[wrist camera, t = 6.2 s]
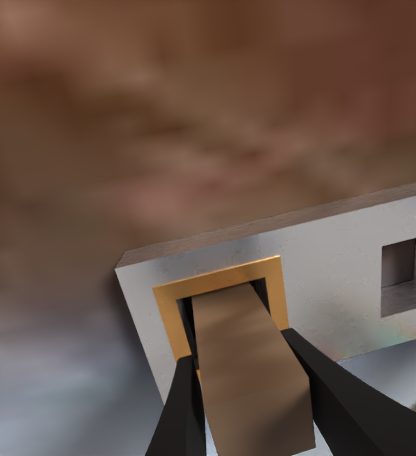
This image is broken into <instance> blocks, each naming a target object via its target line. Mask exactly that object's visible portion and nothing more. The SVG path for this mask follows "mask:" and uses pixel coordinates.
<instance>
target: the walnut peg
mask: <svg viewBox="0 0 416 456" xmlns="http://www.w3.org/2000/svg"><path fill="white" fill-rule="evenodd" d="M192 305H193V315H194V324H195V333H196V342H197V351H198V360H199V369H200V378H201V387H202V396H203V405H204V411H205V414H206V417H207V421H208V424H209V427H210V430H211V434H212V437H213V440H214V444H215V447H216V450H217V454H218V456H291V455H295V454H298V453H301V452H304V451H307V450H310V449H313V448H316V444H315V434H314V425H313V415H312V406H311V396H310V386H309V377H308V376H307V374H306V372H305V371H304V369H303V368H302V366H301V364H300V363H299V361H298V360H297V358H296V356H295V355H294V353H293V352H292V350H291V348H290V347H289V345H288V343H287V342H286V340H285V339H284V337H283V335H282V334H281V332H280V331H279V329H278V327H277V326H276V324H275V322H274V321H273V319H272V318H271V316H270V314H269V313H268V311H267V310H266V308H265V306H264V305H263V303H262V302H261V300H260V298H259V297H258V295H257V293H256V292H255V290H254V289H253V287H252V285H251V284H250V282H249V281H248V282H244V283H240V284H236V285H232V286H228V287H224V288H220V289H216V290H212V291H208V292H204V293H201V294H197V295H193V296H192Z"/></svg>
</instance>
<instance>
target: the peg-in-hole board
mask: <svg viewBox="0 0 416 456" xmlns="http://www.w3.org/2000/svg"><path fill="white" fill-rule="evenodd" d="M413 238H416V182H413V183H409V184H405V185H401V186H396V187H392V188H388V189H384V190H380V191H375V192H371V193H367V194H363V195H358V196H354V197H350V198H346V199H342V200H337V201H333V202H329V203H325V204H321V205H316V206H312V207H308V208H304V209H300V210H295V211H291V212H287V213H283V214H279V215H274V216H270V217H266V218H262V219H258V220H253V221H249V222H245V223H241V224H237V225H232V226H228V227H224V228H220V229H216V230H211V231H207V232H203V233H199V234H195V235H190V236H186V237H182V238H178V239H174V240H169V241H165V242H161V243H157V244H153V245H148V246H144V247H140V248H136V249H132V250H127V251H126V252H125V253H124V255H123V256H122V258H121V259H120V261H119V263H118V264H117V266H116V267H115V271H116V274H117V277H118V280H119V282H120V285H121V288H122V291H123V293H124V296H125V299H126V302H127V304H128V307H129V310H130V313H131V315H132V318H133V321H134V324H135V326H136V329H137V332H138V335H139V337H140V340H141V343H142V345H143V348H144V351H145V354H146V356H147V359H148V362H149V365H150V367H151V370H152V373H153V376H154V378H155V381H156V384H157V387H158V389H159V392H160V395H161V398H162V400H163V403H164V406H165V403H166V400H167V397H168V393H169V390H170V387H171V384H172V380H173V377H174V373H175V369H176V364H177V360H178V359H179V358H181V357H184V356H188V355H192V357H193V361H194V364H195V367H196V371H197V374H198V378H199V381H200V385H201V378H200V369H199V360H198V351H197V342H196V338H193V335H192V331H191V327H190V324H189V320H188V317H187V313H186V310H185V306H184V302H183V299H182V298H185V297H189V296H193V295H197V294H201V293H204V292H208V291H212V290H216V289H220V288H224V287H228V286H232V285H236V284H240V283H244V282H248V281H252V280H254V281H255V287H256V293H257V295H258V297H259V298H260V300H261V302H262V303H263V305H264V306H265V308H266V310H267V311H268V313H269V314H270V316H271V318H272V319H273V321H274V322H275V324H276V326H277V327H278V329H279V331H280V330H284V329H288V328H293V329H294V330H296V331H297V332H298V333H299V334H300V335H301V336H303V337H304V338H305V339H306V340H307V341H309V342H310V343H311V344H312V345H314V346H315V347H316V348H317V349H319V350H320V351H321V352H322V353H324V354H325V355H326V356H328V357H329V358H330V359H332V360H333V361H334V362H337V361H340V360H344V359H347V358H351V357H354V356H358V355H361V354H365V353H368V352H372V351H375V350H379V349H382V348H386V347H389V346H393V345H396V344H400V343H403V342H407V341H410V340H414V339H416V246H415V262H414V277H413V280H411V281H408V282H404V283H400V284H396V285H393V286H389V287H385V288H381V256H382V246H385V245H389V244H393V243H397V242H401V241H405V240H409V239H413ZM201 390H202V387H201ZM202 397H203V396H202Z"/></svg>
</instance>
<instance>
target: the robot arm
mask: <svg viewBox="0 0 416 456" xmlns="http://www.w3.org/2000/svg"><path fill="white" fill-rule="evenodd" d="M280 332H281V334H282V335H283V337H284V339H285V340H286V342H287V343H288V345H289V347H290V348H291V350H292V352H293V353H294V355H295V356H296V358H297V360H298V361H299V363H300V364H301V366H302V368H303V369H304V371H305V372H306V374H307V376H308V377H309V386H310V396H311V406H312V415H313V420H314V422H315V424H316V425H317V427H318V429H319V431H320V432H321V434H322V436H323V437H324V439H325V441H326V443H327V445H328V446H329V448H330V450H331V452H332V454H333V456H416V412H414V411H412V410H411V409H409V408H407V407H405V406H403V405H401V404H399V403H398V402H396V401H394V400H393V399H391V398H389V397H387V396H386V395H384V394H382V393H381V392H379V391H377V390H376V389H374V388H373V387H371V386H369V385H368V384H366V383H365V382H363V381H362V380H360V379H359V378H357V377H356V376H354V375H353V374H351V373H350V372H348V371H347V370H345V369H344V368H343V367H341V366H340V365H338V364H337V363H336V362H334V361H333V360H332V359H330V358H329V357H328V356H326V355H325V354H324V353H322V352H321V351H320V350H319V349H317V348H316V347H315V346H314V345H312V344H311V343H310V342H309V341H307V340H306V339H305V338H304V337H303V336H301V335H300V334H299V333H298V332H297V331H296V330H294V329H293V328H288V329H284V330H280ZM145 456H206V434H205V413H204V405H203V397H202V390H201V385H200V381H199V378H198V374H197V371H196V367H195V364H194V361H193V357H192V355H188V356H184V357H181V358H179V359H178V360H177V364H176V369H175V373H174V377H173V380H172V384H171V387H170V390H169V393H168V397H167V400H166V403H165V406H164V409H163V412H162V414H161V417H160V420H159V422H158V425H157V428H156V430H155V433H154V435H153V438H152V440H151V443H150V445H149V447H148V450H147V452H146V454H145Z"/></svg>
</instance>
